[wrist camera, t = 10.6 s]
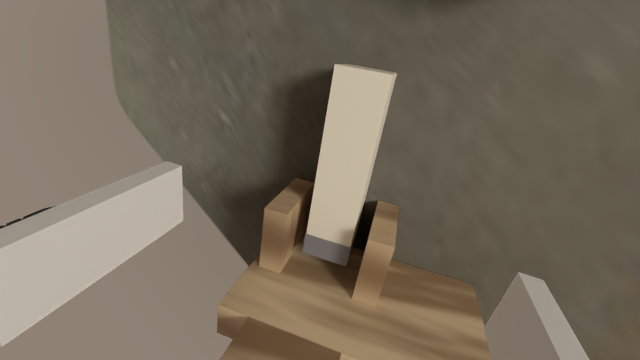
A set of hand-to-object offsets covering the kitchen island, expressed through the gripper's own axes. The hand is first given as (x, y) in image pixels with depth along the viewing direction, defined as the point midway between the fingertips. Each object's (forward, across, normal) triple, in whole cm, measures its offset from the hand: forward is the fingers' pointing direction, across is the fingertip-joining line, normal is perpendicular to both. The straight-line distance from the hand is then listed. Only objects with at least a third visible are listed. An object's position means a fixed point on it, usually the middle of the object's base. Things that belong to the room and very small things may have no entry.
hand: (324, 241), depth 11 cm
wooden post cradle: (+16, +3, -10) cm, 19 cm away
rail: (+16, -2, -2) cm, 17 cm away
